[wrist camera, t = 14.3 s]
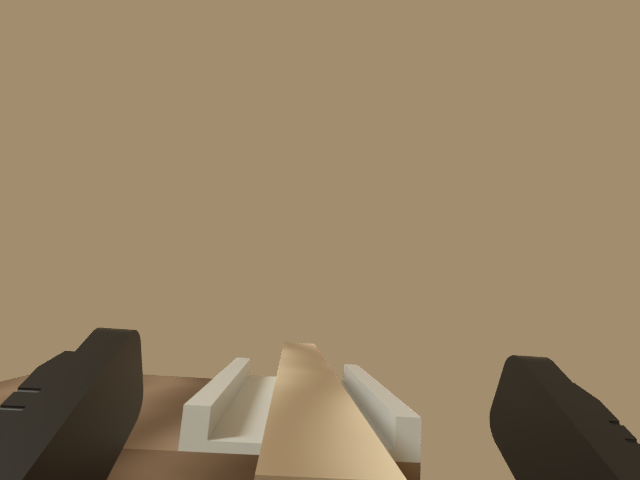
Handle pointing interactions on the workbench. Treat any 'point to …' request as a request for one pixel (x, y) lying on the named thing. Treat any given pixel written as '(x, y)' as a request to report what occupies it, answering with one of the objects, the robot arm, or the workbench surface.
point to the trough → (253, 407)
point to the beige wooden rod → (318, 426)
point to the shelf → (175, 438)
